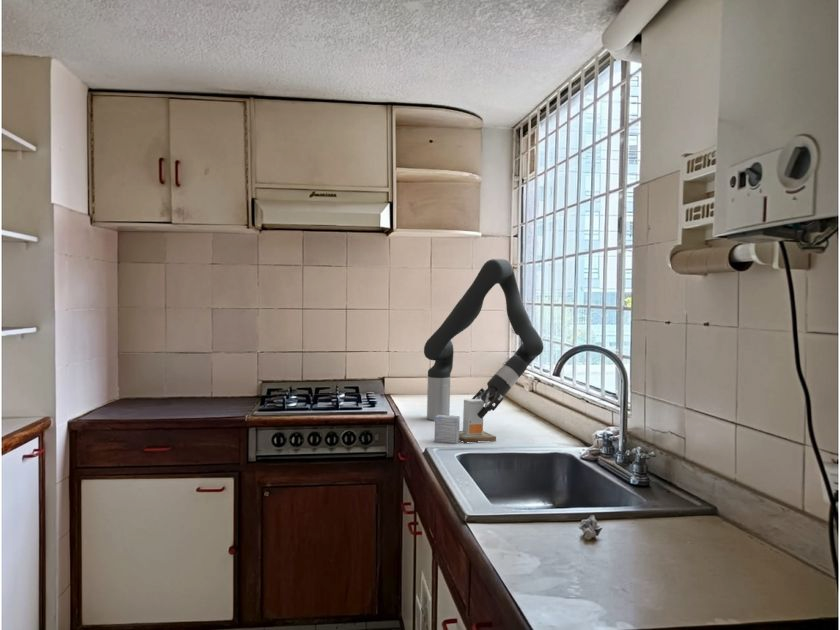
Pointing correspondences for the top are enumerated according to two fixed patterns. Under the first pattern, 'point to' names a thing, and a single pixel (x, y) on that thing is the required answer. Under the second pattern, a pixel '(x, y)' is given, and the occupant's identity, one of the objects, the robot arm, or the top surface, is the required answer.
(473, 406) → the skincare box
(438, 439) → the medicine box
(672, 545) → the top surface
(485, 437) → the plate
